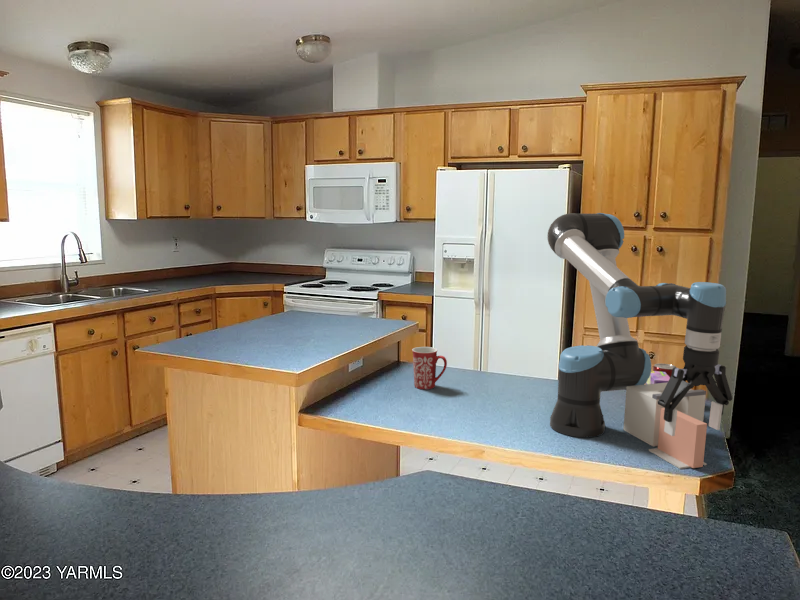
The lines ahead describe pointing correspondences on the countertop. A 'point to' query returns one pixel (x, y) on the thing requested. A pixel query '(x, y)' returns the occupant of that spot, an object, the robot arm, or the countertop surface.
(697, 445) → the salmon pink slab
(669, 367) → the soda can
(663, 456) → the mat
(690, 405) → the dispenser
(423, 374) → the mug
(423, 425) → the countertop surface
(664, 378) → the box
